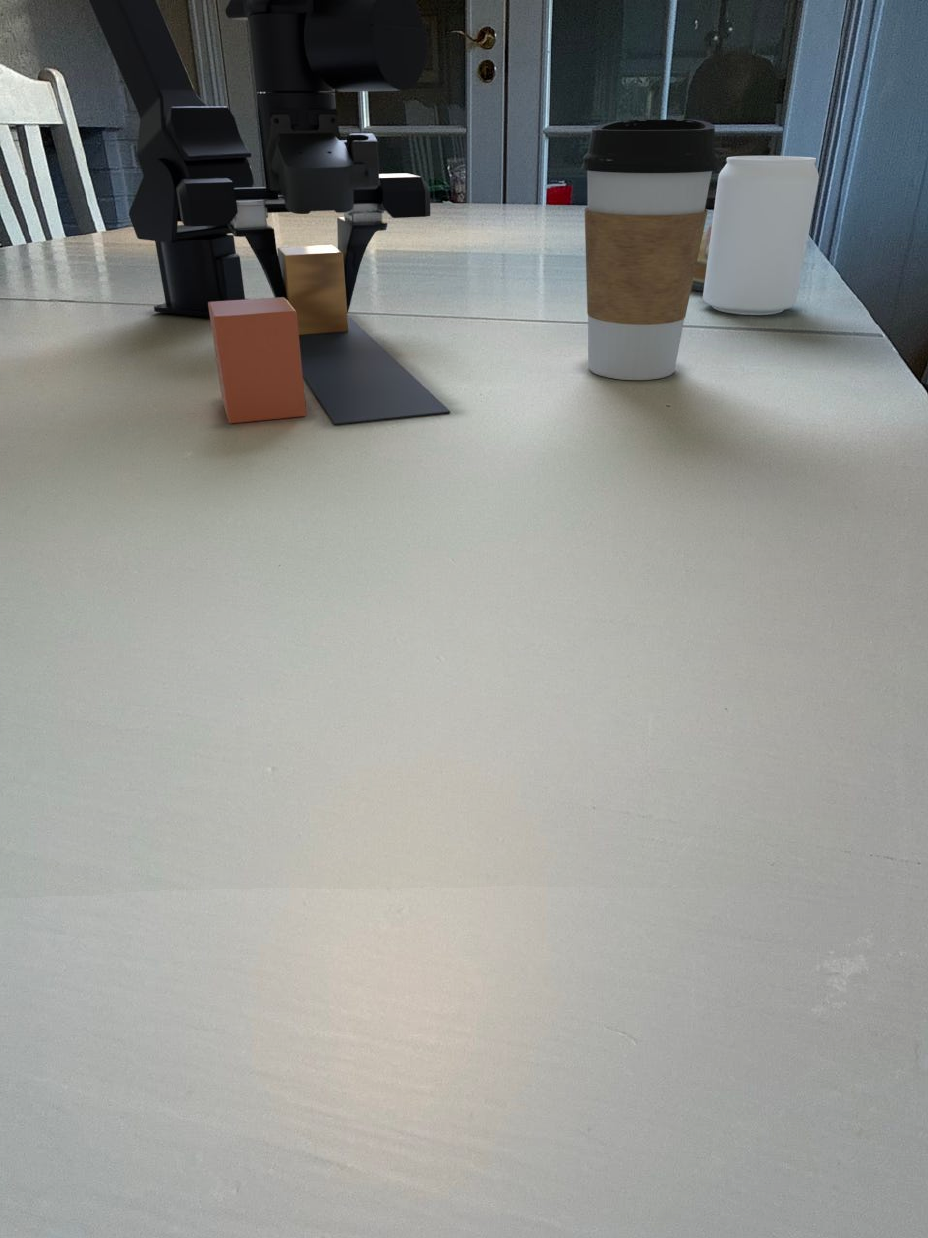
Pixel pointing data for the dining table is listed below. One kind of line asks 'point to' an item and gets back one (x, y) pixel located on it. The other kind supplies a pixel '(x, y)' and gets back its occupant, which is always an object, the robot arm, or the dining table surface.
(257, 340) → the terracotta block
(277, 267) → the robot arm
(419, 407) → the line strip
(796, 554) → the dining table surface
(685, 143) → the coffee cup
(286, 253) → the wood block
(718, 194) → the beverage can
